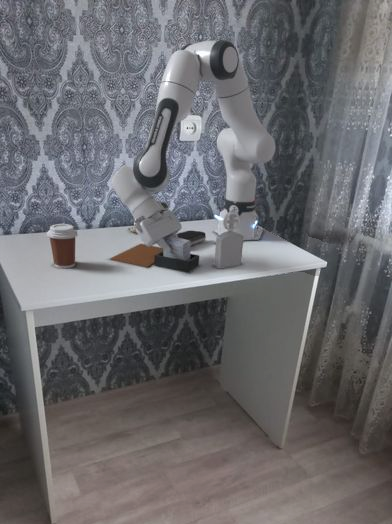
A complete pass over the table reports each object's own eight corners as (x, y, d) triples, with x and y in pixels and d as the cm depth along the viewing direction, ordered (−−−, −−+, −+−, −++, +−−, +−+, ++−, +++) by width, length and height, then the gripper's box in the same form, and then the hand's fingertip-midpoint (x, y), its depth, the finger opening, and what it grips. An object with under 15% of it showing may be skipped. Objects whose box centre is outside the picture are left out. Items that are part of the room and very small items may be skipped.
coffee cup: (47, 261, 157) (44, 223, 151) (76, 258, 160) (73, 222, 154) (52, 270, 150) (48, 231, 144) (82, 268, 153) (80, 229, 147)
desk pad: (140, 244, 178) (140, 243, 177) (175, 251, 173) (175, 250, 173) (110, 259, 161) (110, 258, 161) (147, 267, 157) (147, 266, 157)
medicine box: (190, 266, 160) (191, 240, 155) (182, 270, 156) (183, 243, 152) (171, 260, 163) (171, 235, 159) (162, 264, 160) (162, 238, 156)
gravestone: (240, 264, 165) (246, 209, 156) (219, 268, 160) (224, 212, 151) (235, 261, 167) (240, 208, 158) (214, 266, 162) (218, 210, 153)
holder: (165, 258, 165) (166, 248, 164) (198, 265, 161) (199, 255, 160) (154, 265, 159) (154, 255, 157) (188, 272, 155) (188, 262, 153)
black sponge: (180, 251, 173) (181, 241, 172) (162, 246, 178) (162, 236, 176) (207, 242, 185) (208, 232, 183) (189, 237, 189) (190, 228, 188)
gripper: (137, 214, 146) (166, 251, 147) (169, 202, 163) (194, 236, 164) (125, 226, 150) (153, 263, 151) (157, 213, 166) (182, 246, 168)
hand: (174, 249), depth 158 cm, fingers closed on medicine box, 5 cm apart
